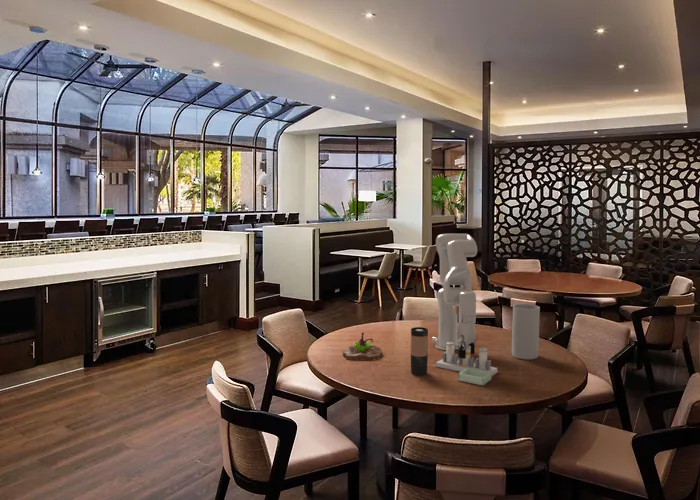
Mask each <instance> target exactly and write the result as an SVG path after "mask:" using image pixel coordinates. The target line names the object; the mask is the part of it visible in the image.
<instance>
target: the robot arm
mask: <svg viewBox="0 0 700 500" xmlns="http://www.w3.org/2000/svg"><path fill="white" fill-rule="evenodd" d="M435 247H436V251H437V254H438V256H439V257H438V258H439V277H440V279H439V280H440V283H441V284H442V287H441V288H439V289H438V291H437V294H436V296H437V305H438V306H437V307H438V335H437V337H435V336H432V338H431V342H434V343H435V349H438V350H442V351H446V346H447V345H446V343H447V342H453V343H455V345H454V351H457V350H458V359H459V358H462V359H465V358H466V350H465V348H466V345H470V346H471V354H472V355H474V354H475V351H476V350H475V347H476V336H477V335H476V322H477V321H476V319H477V295H476V292H475V291H474V290H473V289H472V272H471V270H470V268H469V266H468V260H467V258H474V257H476V256H477V254H478V246H477V242H476V240H475V238H473V237H472V235H470V234H469V233H442V234H438V235H437V236H436V238H435ZM451 286H461V287H451ZM453 307H458V314H457V311H456V310H455V309H454V308H453ZM463 345H464V347H463ZM471 354H470V355H471Z"/></svg>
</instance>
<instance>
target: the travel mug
mask: <svg viewBox="0 0 700 500" xmlns="http://www.w3.org/2000/svg"><path fill="white" fill-rule="evenodd" d="M428 360H429V330H428V328H426V327H422V326H421V327H420V326H419V327H418V326H417V327H412V328H410V373H411V374H412V375H413V374H414V376H426V375H427V374H428Z"/></svg>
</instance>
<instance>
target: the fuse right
mask: <svg viewBox="0 0 700 500" xmlns="http://www.w3.org/2000/svg"><path fill="white" fill-rule="evenodd" d="M488 351H489V350H488V347H479V348H478V358H479V369H481V370H486V369H487V361H488Z"/></svg>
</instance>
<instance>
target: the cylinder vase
mask: <svg viewBox="0 0 700 500" xmlns="http://www.w3.org/2000/svg"><path fill="white" fill-rule="evenodd" d="M540 311H541V307H540V305H539V306H538V305H535V304H526V303H517V304H514V305H512V325H511V326H512V327H511V328H512V330H511V331H512V332H511V334H512V335H511V355H512V357H514V358H516V359H519V360H525V361H526V360H527V361H530V360H535V359H538V357H539V344H540V343H539V342H540V314H541V313H540Z"/></svg>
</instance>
